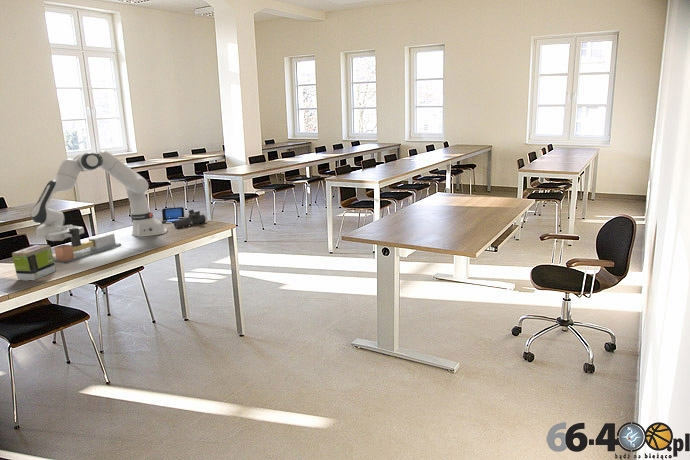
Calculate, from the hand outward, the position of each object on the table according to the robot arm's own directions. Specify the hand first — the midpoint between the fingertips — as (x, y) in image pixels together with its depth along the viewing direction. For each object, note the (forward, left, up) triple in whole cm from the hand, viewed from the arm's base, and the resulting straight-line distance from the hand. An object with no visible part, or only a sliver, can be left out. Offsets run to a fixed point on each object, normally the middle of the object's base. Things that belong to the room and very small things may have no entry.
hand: (75, 234), depth 300 cm
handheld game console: (-42, -81, -14) cm, 92 cm away
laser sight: (-57, -61, -13) cm, 84 cm away
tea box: (+11, +33, -13) cm, 37 cm away
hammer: (-2, -4, -10) cm, 11 cm away
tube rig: (-3, -6, -13) cm, 15 cm away
